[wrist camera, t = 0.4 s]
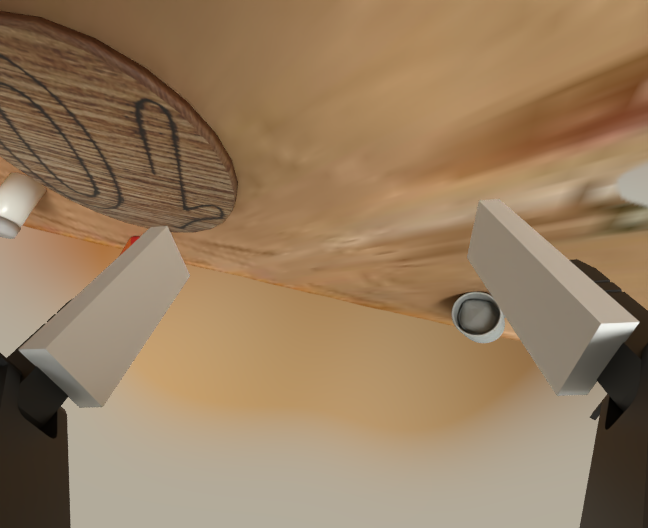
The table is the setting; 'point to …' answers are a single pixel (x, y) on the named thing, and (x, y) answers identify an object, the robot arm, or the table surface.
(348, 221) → the table surface
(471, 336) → the ceramic mug
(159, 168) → the trivet
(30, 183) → the salt shaker
